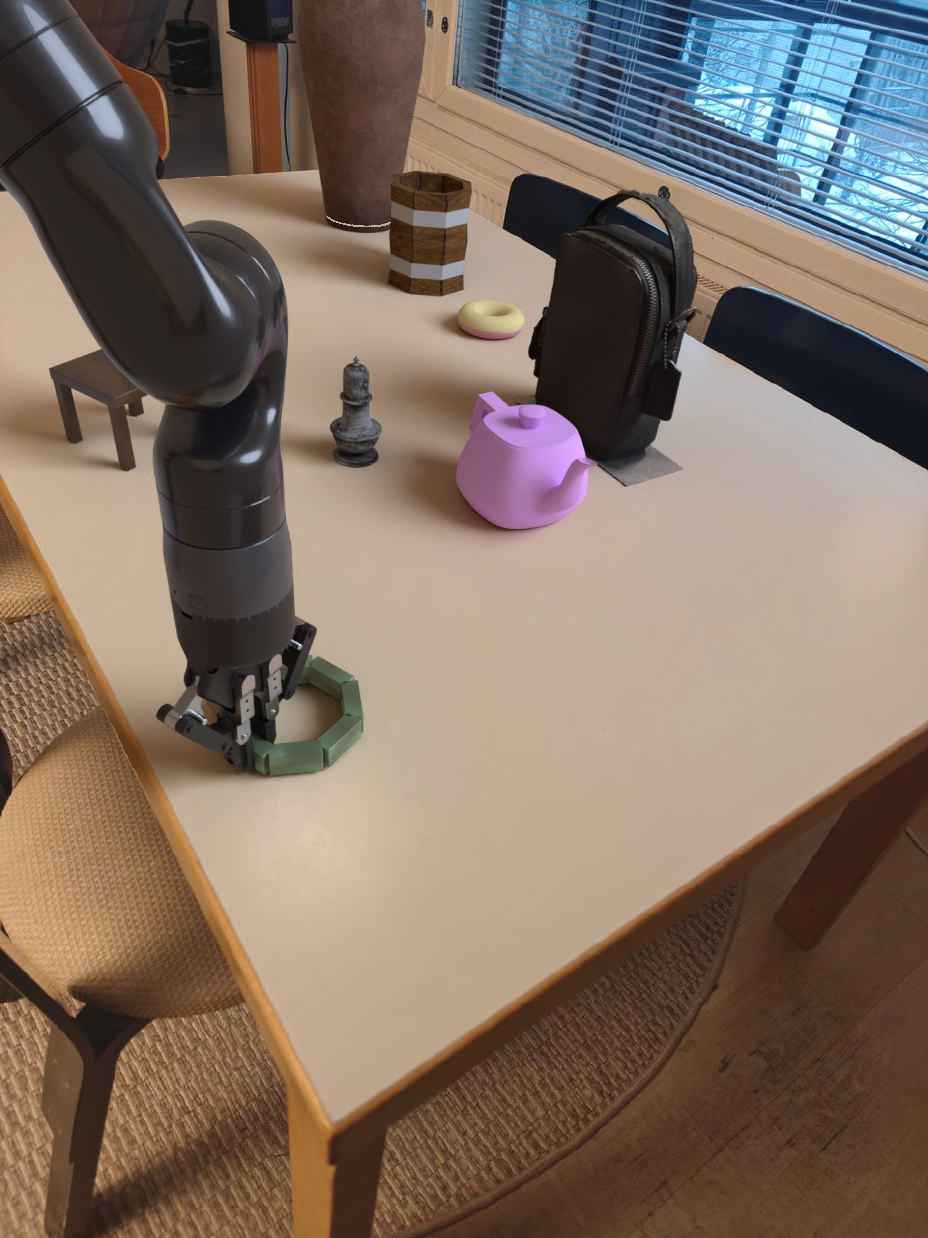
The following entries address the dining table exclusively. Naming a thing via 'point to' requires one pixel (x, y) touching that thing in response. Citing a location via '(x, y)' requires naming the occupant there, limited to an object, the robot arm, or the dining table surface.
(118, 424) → the chair
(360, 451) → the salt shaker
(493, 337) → the donut
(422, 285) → the wooden barrel
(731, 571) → the dining table surface
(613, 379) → the shoulder bag
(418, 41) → the vase
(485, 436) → the teapot
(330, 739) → the ring
